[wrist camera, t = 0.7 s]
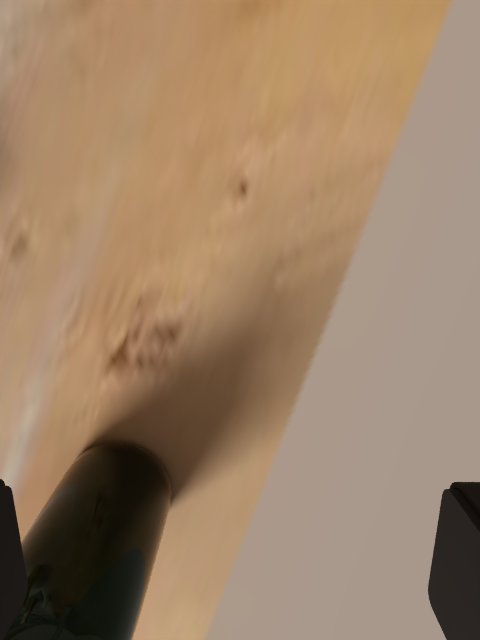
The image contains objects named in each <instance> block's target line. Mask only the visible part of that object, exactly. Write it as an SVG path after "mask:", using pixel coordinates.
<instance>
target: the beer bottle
mask: <svg viewBox="0 0 480 640" xmlns="http://www.w3.org/2000/svg"><path fill="white" fill-rule="evenodd" d="M170 502H171V483H170V479H169V477H168V475H167V473H166V470H165V469H164V467H163V466H162V465H161V463H160V462H159V461H158V460H157V459H156V458H155V457H154V456H153V455H151V454H150V453H148V452H147V451H145V450H143V449H141V448H139V447H136V446H134V445H129V444H125V443H107V444H102V445H98V446H95V447H92V448H90V449H89V450H87V451H85V452H83V453H82V454H81V455H80V456H79V457H78V458H76V460H75V461H74V462H73V464H72V465H71V466H70V468H69V469H68V470H67V472H66V473H65V475H64V476H63V478H62V479H61V481H60V482H59V484H58V485H57V487H56V488H55V490H54V491H53V493H52V494H51V496H50V497H49V499H48V500H47V502H46V504H45V505H44V507H43V508H42V510H41V511H40V513H39V515H38V516H37V518H36V519H35V521H34V522H33V524H32V526H31V527H30V529H29V530H28V532H27V533H26V535H25V536H24V538H23V540H22V541H21V545H22V551H23V557H24V563H25V568H26V574H27V580H28V591H27V595H26V598H25V601H24V603H23V605H22V607H21V609H20V610H19V612H18V614H17V616H16V617H15V619H14V621H13V623H12V625H11V626H10V628H9V630H8V632H7V634H6V635H5V637H4V639H3V640H133V637H134V633H135V630H136V627H137V624H138V620H139V617H140V613H141V610H142V606H143V603H144V599H145V596H146V592H147V589H148V585H149V581H150V578H151V574H152V571H153V567H154V563H155V560H156V556H157V553H158V549H159V545H160V542H161V538H162V534H163V530H164V527H165V523H166V519H167V515H168V511H169V507H170Z"/></svg>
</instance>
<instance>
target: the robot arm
mask: <svg viewBox="0 0 480 640" xmlns="http://www.w3.org/2000/svg"><path fill="white" fill-rule="evenodd" d="M27 591H28V580H27V574H26V568H25V563H24V557H23V551H22V545H21V540H20V534H19V528H18V523H17V517H16V511H15V506H14V500H13V494H12V490H11V488H10V487H9V486H5V483H4V481H3V480H2V479H0V640H3V639H4V637H5V635H6V634H7V632H8V630H9V628H10V626H11V625H12V623H13V621H14V619H15V617H16V616H17V614H18V612H19V610H20V609H21V607H22V605H23V603H24V601H25V598H26V595H27ZM428 595H429V600H430V603H431V606H432V609H433V611H434V613H435V615H436V618H437V620H438V622H439V624H440V626H441V628H442V631H443V633H444V635H445V637H446V639H447V640H480V482H454V483H452V485H451V486H450V489H446V490H444V492H443V494H442V500H441V507H440V514H439V520H438V526H437V533H436V539H435V546H434V552H433V559H432V566H431V572H430V579H429V585H428Z"/></svg>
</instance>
